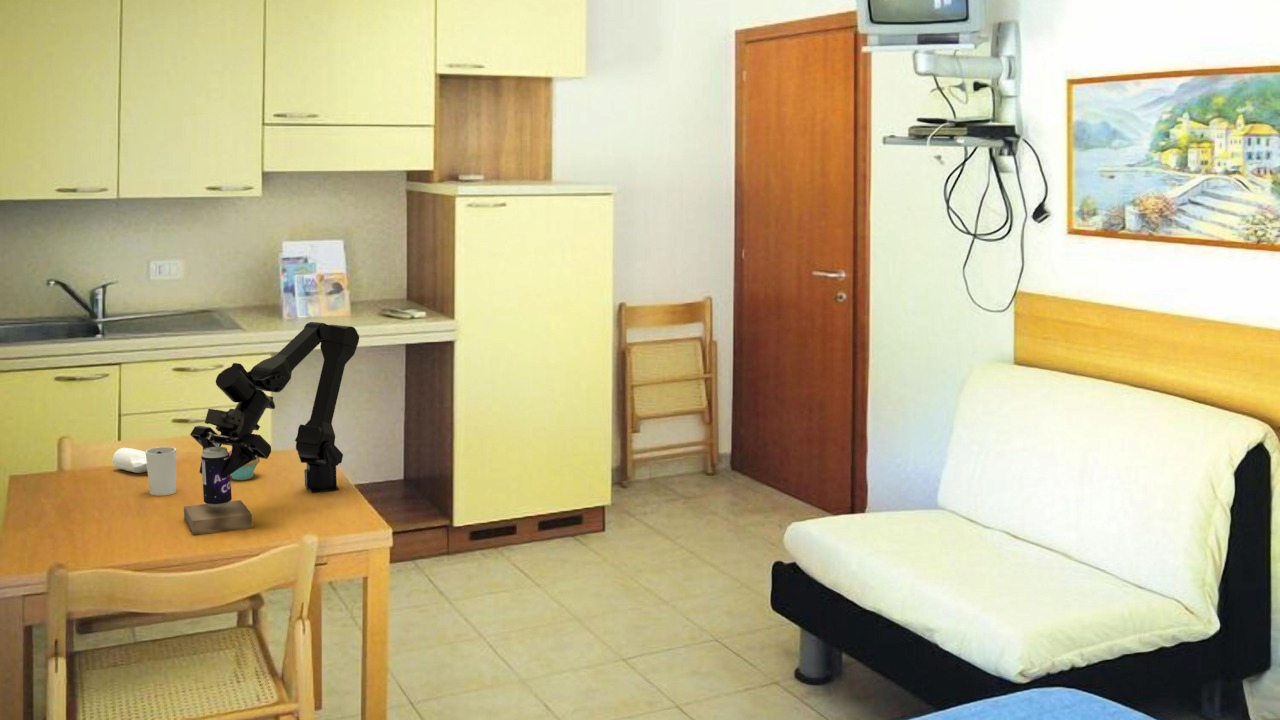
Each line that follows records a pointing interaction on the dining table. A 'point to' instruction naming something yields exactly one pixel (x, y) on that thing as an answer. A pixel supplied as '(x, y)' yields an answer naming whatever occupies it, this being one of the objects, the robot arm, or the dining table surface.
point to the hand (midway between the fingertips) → (211, 475)
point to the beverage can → (215, 477)
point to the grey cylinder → (161, 470)
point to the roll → (130, 460)
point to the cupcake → (245, 470)
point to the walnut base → (217, 517)
